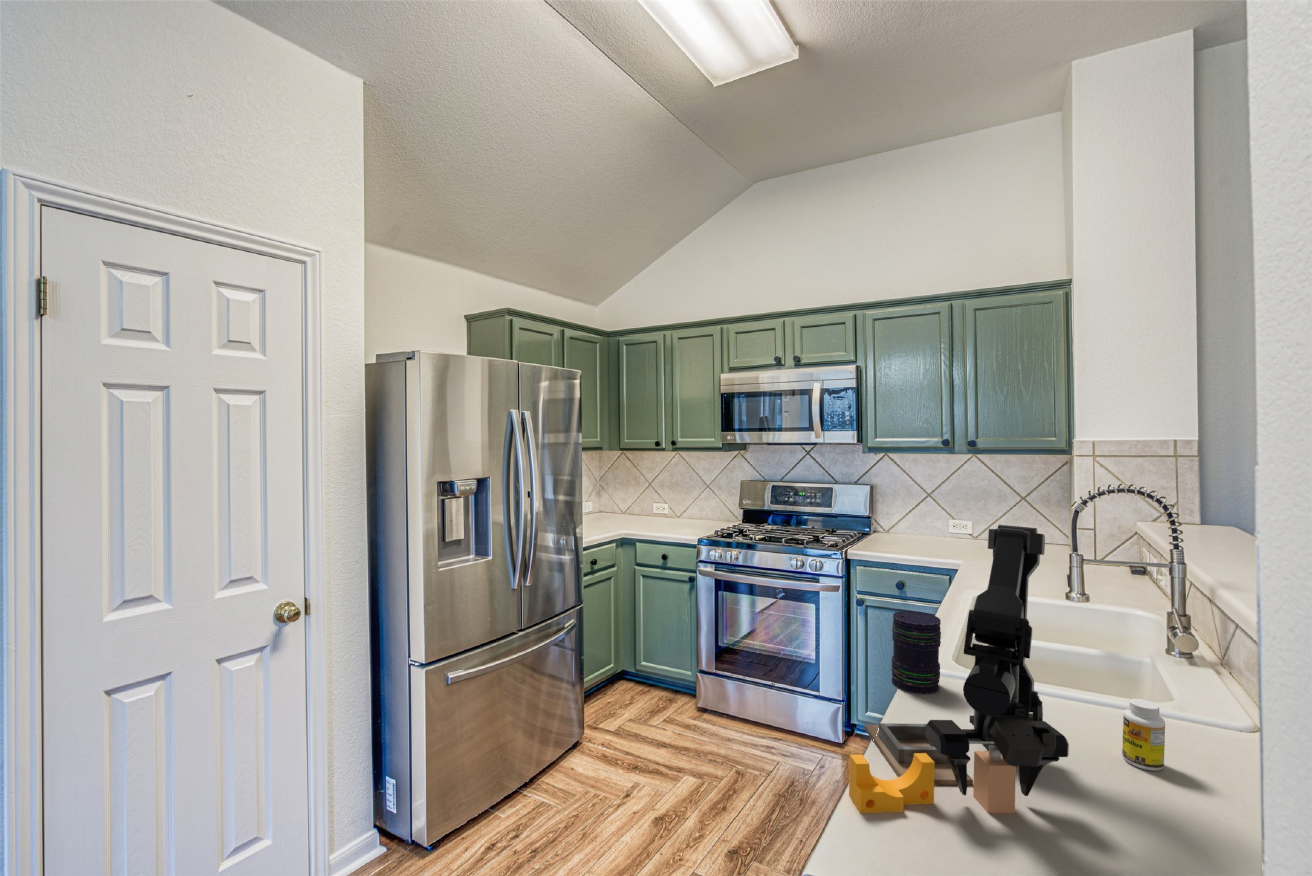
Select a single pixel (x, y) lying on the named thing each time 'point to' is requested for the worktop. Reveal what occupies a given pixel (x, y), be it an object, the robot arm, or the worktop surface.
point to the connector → (994, 781)
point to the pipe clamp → (891, 786)
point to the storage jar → (916, 652)
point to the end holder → (910, 749)
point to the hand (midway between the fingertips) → (993, 794)
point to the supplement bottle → (1143, 735)
